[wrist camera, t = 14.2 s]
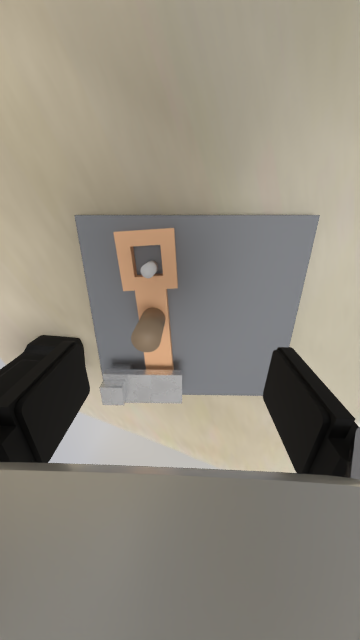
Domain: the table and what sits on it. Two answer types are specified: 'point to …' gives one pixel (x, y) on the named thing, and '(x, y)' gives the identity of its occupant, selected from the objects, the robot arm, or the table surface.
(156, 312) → the link
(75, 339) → the portable radio
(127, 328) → the pintle board
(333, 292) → the table surface
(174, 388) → the keeper
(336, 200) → the table surface
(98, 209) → the table surface
